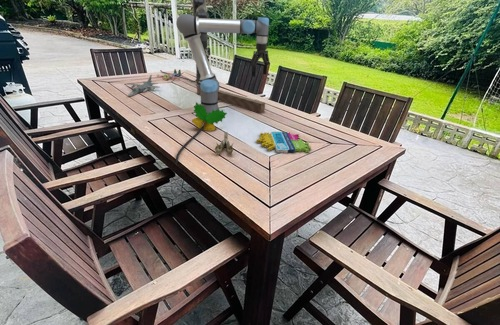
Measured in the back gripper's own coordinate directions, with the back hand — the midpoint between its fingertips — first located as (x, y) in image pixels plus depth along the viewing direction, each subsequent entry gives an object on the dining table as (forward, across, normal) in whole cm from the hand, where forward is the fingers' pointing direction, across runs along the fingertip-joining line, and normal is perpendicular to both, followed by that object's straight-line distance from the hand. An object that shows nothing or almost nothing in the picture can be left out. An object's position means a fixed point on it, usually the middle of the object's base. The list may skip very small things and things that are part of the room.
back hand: (203, 61), depth 218 cm
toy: (+28, -20, -72) cm, 79 cm away
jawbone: (+28, +68, +89) cm, 115 cm away
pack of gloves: (+28, +36, +105) cm, 114 cm away
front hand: (+1, 0, +59) cm, 59 cm away
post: (+28, 0, +29) cm, 40 cm away
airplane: (+28, +33, -42) cm, 60 cm away
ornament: (+28, +51, +60) cm, 84 cm away
